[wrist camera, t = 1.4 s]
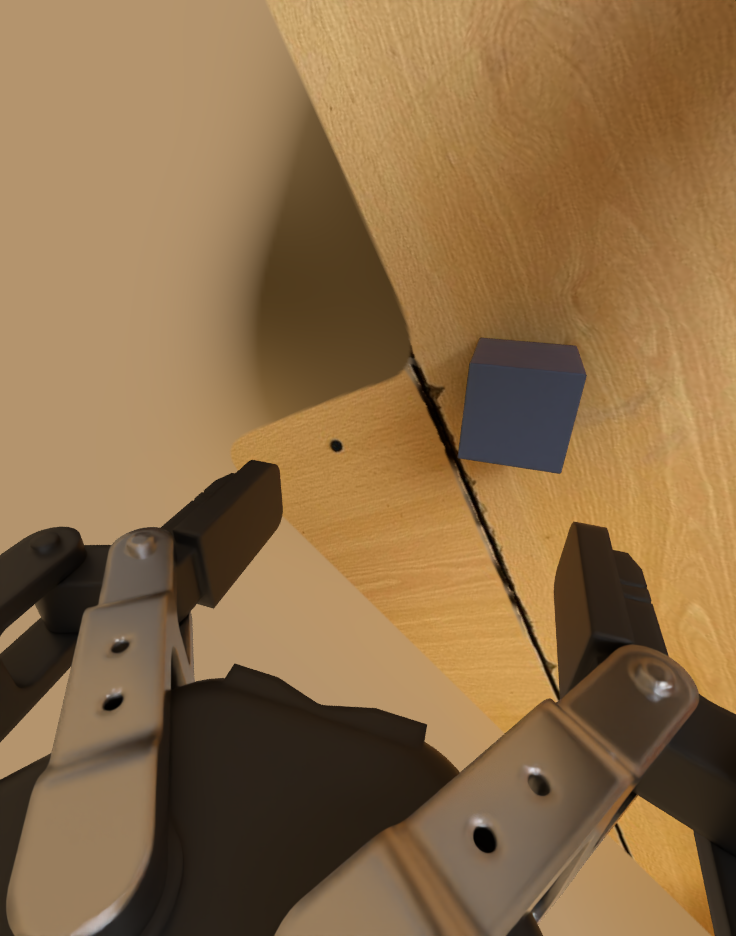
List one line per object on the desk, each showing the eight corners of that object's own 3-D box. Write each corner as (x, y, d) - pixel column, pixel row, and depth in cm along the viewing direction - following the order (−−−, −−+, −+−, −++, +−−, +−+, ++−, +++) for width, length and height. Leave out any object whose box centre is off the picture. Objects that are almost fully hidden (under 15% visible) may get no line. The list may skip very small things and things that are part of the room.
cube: (479, 337, 25) (469, 362, 21) (577, 345, 24) (587, 374, 19) (468, 420, 27) (457, 458, 23) (556, 432, 26) (561, 474, 22)
